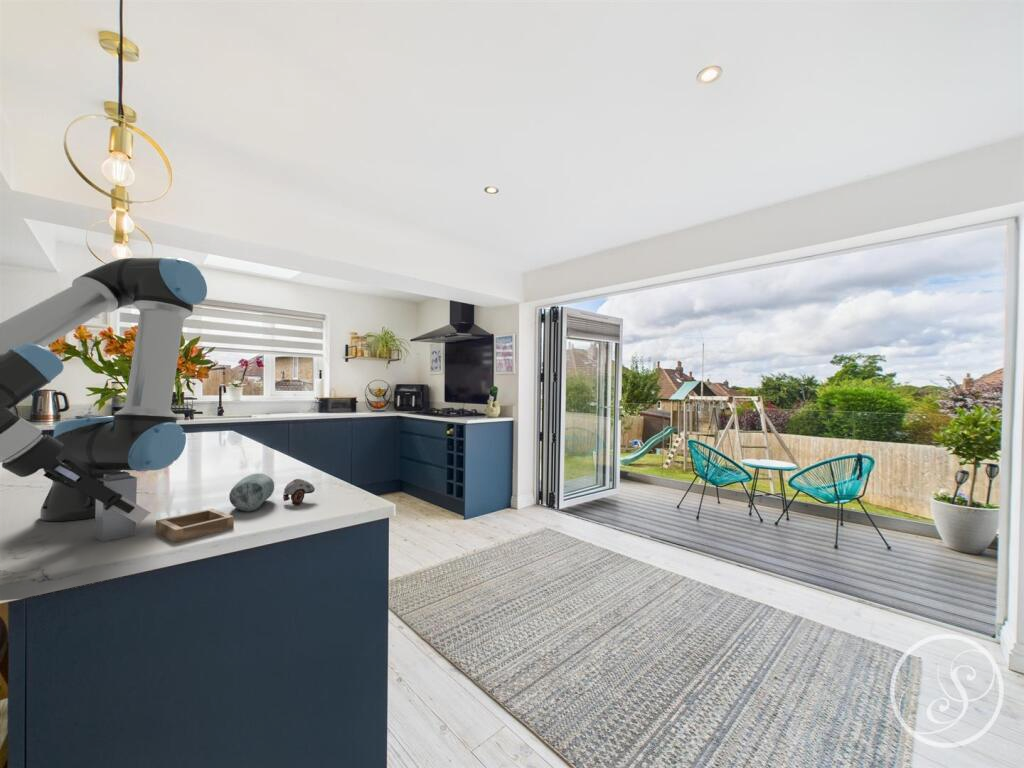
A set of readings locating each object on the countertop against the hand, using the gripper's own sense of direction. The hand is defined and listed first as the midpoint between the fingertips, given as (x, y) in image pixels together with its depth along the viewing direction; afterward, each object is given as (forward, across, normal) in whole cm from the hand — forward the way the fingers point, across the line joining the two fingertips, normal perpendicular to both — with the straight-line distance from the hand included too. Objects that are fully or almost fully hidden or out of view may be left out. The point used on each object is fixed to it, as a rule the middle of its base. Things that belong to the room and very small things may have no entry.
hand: (139, 515), depth 87 cm
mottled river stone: (+18, +1, +13) cm, 23 cm away
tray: (+7, +9, +2) cm, 12 cm away
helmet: (+24, +8, +19) cm, 32 cm away
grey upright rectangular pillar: (0, 0, -5) cm, 5 cm away
